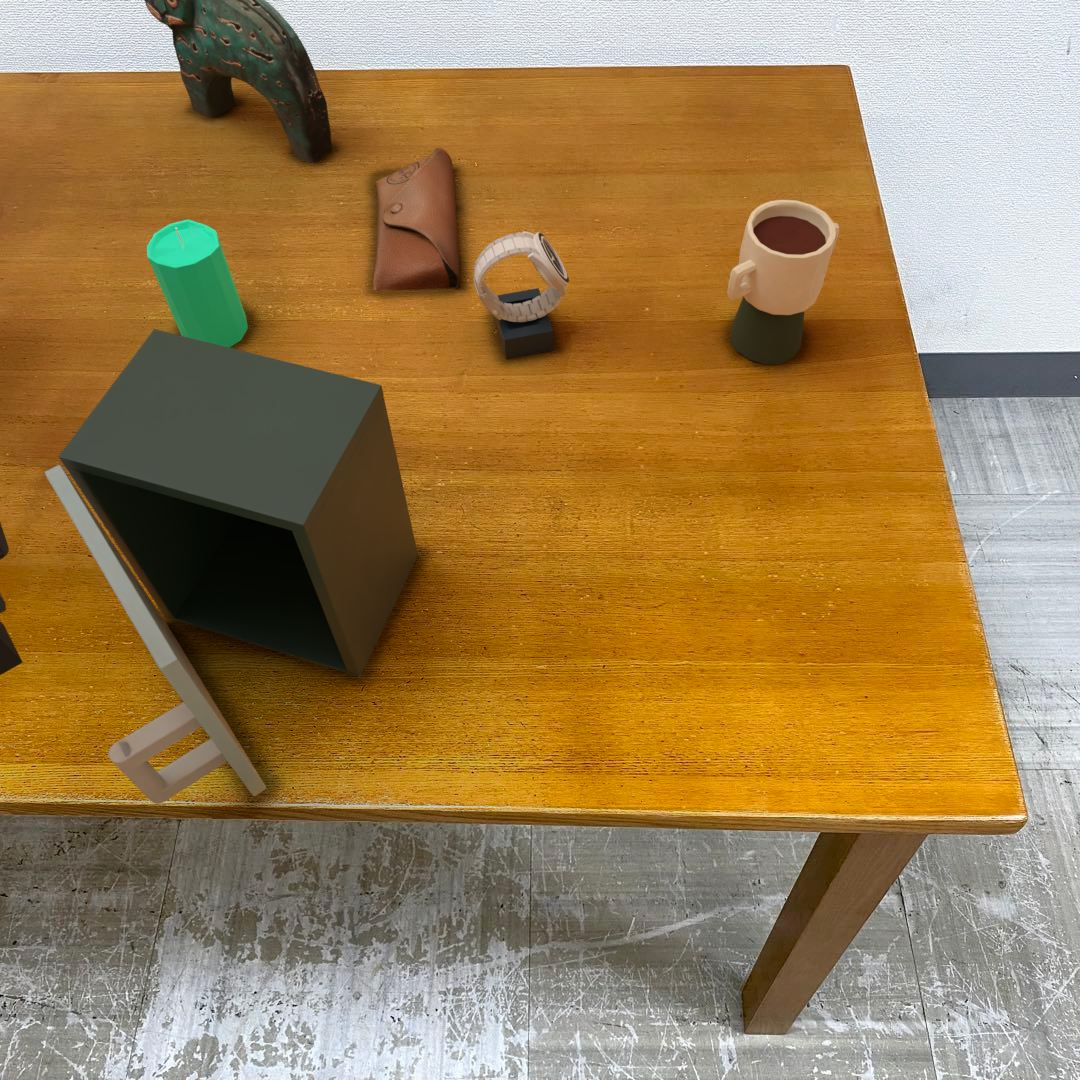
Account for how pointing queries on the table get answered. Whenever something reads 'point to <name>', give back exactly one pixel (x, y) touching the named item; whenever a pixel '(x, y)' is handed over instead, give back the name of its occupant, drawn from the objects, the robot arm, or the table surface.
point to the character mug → (779, 277)
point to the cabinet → (252, 496)
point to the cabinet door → (175, 668)
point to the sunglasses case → (417, 227)
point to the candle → (197, 283)
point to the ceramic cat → (248, 64)
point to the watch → (523, 294)
